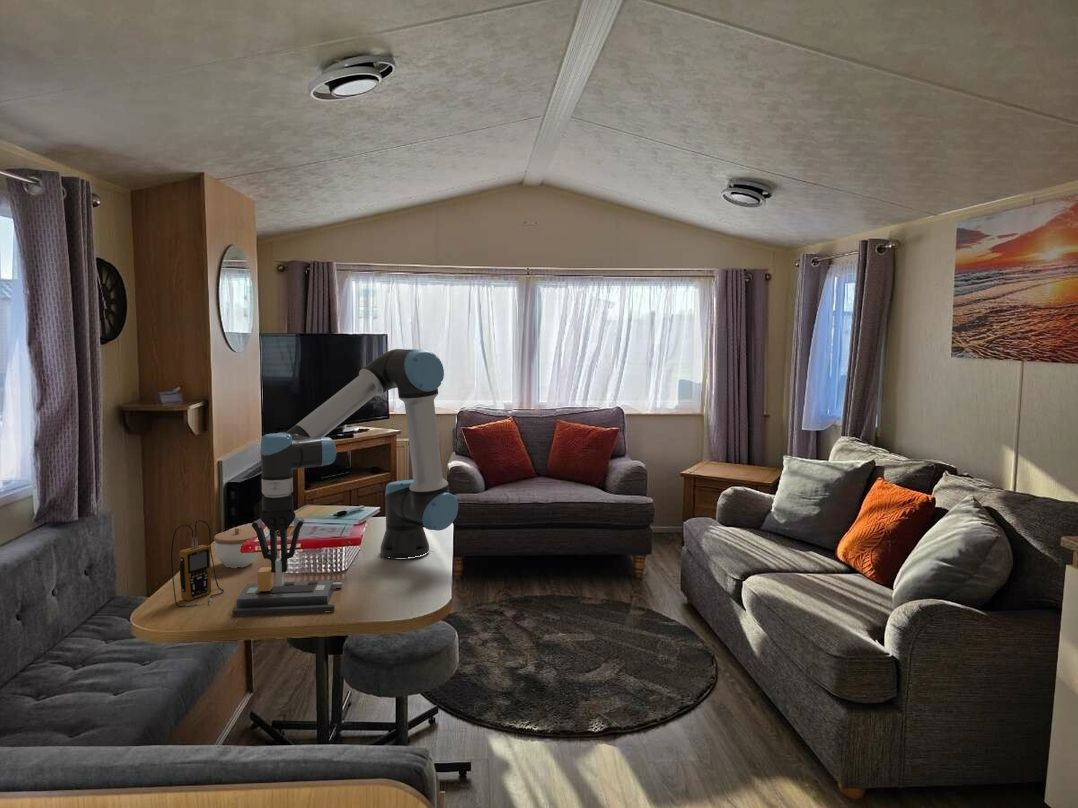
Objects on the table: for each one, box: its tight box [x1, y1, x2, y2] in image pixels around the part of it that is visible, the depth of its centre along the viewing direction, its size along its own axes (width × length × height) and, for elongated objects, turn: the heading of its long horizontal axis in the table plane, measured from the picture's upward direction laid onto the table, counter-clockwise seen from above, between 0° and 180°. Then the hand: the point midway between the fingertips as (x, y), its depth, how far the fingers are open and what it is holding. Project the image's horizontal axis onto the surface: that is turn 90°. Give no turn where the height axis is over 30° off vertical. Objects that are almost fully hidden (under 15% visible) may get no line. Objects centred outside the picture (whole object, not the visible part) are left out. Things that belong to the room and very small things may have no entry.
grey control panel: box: [235, 580, 334, 609], centre depth 199 cm, size 22×12×3 cm, turn 98°
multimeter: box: [170, 519, 225, 608], centre depth 199 cm, size 15×10×20 cm
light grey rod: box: [333, 581, 343, 590], centre depth 208 cm, size 24×1×1 cm, turn 98°
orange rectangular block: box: [257, 566, 274, 591], centre depth 198 cm, size 3×4×5 cm
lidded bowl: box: [213, 527, 258, 569], centre depth 229 cm, size 13×13×11 cm
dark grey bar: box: [232, 604, 336, 617], centre depth 190 cm, size 24×1×1 cm, turn 98°
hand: (279, 584), depth 198 cm, fingers closed
